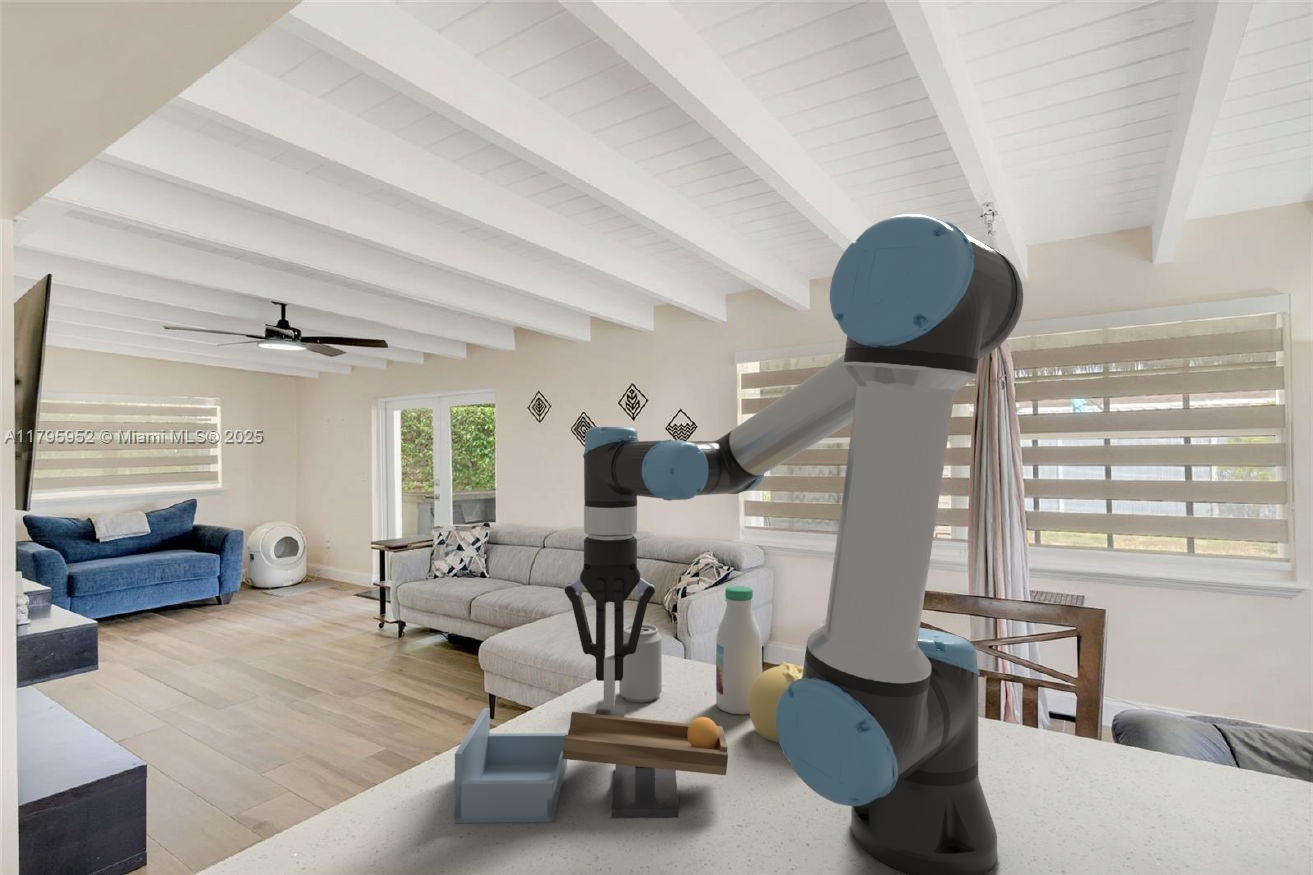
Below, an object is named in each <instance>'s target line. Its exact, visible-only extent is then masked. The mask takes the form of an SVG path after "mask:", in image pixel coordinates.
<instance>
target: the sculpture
mask: <svg viewBox="0 0 1313 875" xmlns="http://www.w3.org/2000/svg"><path fill="white" fill-rule="evenodd" d="M803 668H804V665H796V664H794V663H788V662H785V661H782V662H781V664H780V665H778V666H774V667H771V668H768V669H766V670H764V671H762V674H760V675H759V676H758V677H757V679H756V680H755V682H754V683H753V685H752V688H751V691H750V695H749V712H750V714H749V717H750V720H751V722H752V724H753V727H754V729H755V730H756V732H757V733H758V734H759V735H760V736H761V737H762V738H764V739H766V740H769V741H772V742H776V743H780V742H779V739H778V735H777V730H776V721H775V716H776V708H777V704H778V701H779V699H780V696H781V695H782V693H783V692H784V691H785V690H786V689H787V687H788V686H789V685H790V684H792V683H793V682H795V681H796V680H797V679H801V678H802V675H803Z"/></svg>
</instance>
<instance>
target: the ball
mask: <svg viewBox="0 0 1313 875" xmlns="http://www.w3.org/2000/svg"><path fill="white" fill-rule="evenodd" d="M689 724H690V725H689V727H688V731H687V736H688V740H689V742H690V744H691V746H692V747H693V748H702V749H712V748H713V747H714V746H715V745H716V743H717V741H718V738H719V732H718V728H717V726H718V725H717V724H716V723H715V722H714V720H712V719H711V718H709V717H705V716H701V717H700V716H699V717H696V718H694V719H693V720H692V721H691V722H690V723H689Z"/></svg>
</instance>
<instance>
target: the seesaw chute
mask: <svg viewBox="0 0 1313 875" xmlns="http://www.w3.org/2000/svg"><path fill="white" fill-rule="evenodd" d="M596 705H597V706H596V710H595V713H590V712H589V713H587V712H579V711H571V713H570V722H569V728H568V732H567V735H565V738H564V746H563V755H562V759H567V760H570V761H571V760H572V761H580V762H589V763H590V762H592V763H599V764H610V765H616V764H618V765H628V766H638V767H648V768H658V769H667V770H676V771H678V772H679V771H680V772H686V773H687V772H690V773H697V774H699V773H700V774H709V775H717V776H719V775H720V776H727V769H728V759H729V753H728V749H729V748H728V743H727V739H726V735H725V732H724V727H723V726H722V725H716V726H717V728H718V732H719V738H718V741H717V743H716V745H715V746H714V747H713V748H712V749H702V748H693V747H692V746H691V744H690V742H689V740H688V736H687V731H688V727H689V725H690V724H691V723H685V722H678V721H677V722H676V721H675V722H674V721H666V720H657V719H656V720H655V719H647V718H646V719H645V718H637V717H628V716H625V712H626V711H625V710H626V704H620V703H619V704H618V703H615V705H614V707H604V702H600V701H597V704H596Z"/></svg>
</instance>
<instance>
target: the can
mask: <svg viewBox="0 0 1313 875" xmlns="http://www.w3.org/2000/svg"><path fill="white" fill-rule="evenodd" d="M632 625H633V624H631V625H627V626H624V644H626V643H628V641H629V637H630V633H631V629H632ZM658 631H659V629H658V627H657V626H654V625H652V624H644V623H642V627H641V632H640V636H639V640H638V644H637V648H636V651H635V653H634V654H629V655H626V656H625V657H624V659H623V678H622V681H618V682H619V686H618V688H619V690H618V691H619V692H618V693H619V694H620V695H621V696H622V697H623V698H624V699H625V700H626V701H628V702H632V703H649V702H652V701H654V700H656V699H657V697H659V696H660V695H661V693H662V691H663V690H662V689H663V688H662V687H663V686H662V683H663V682H662V680H663V679H662V676H663V674H662V670H663V669H662V666H663V665H662V663H663V662H662V661H663V660H662V658H663V657H662V656H663V654H662V648H663V647H662V644H663V643H662V642H663V640H662V638H663V637H662V636H661V634H660V633H659V632H658Z"/></svg>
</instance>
